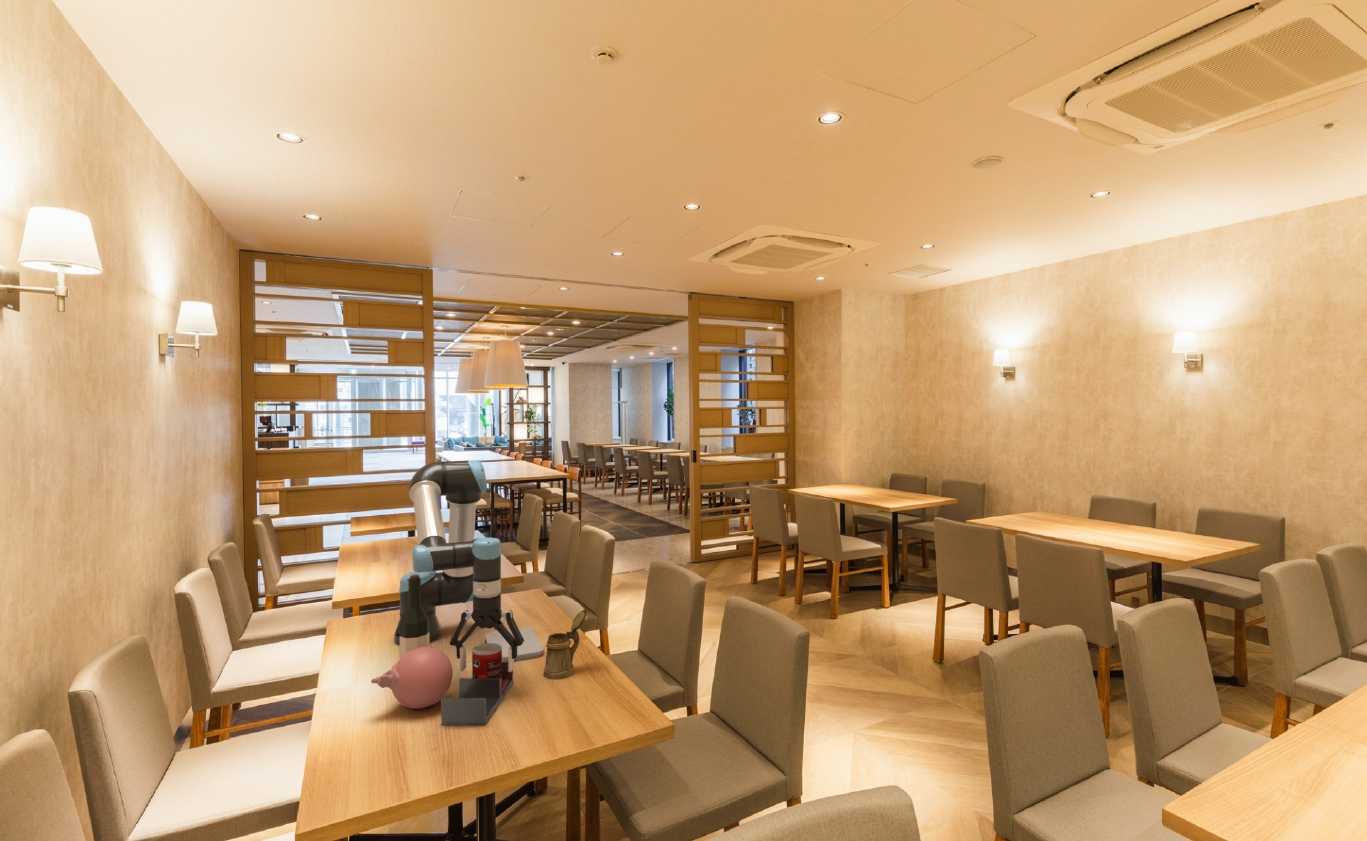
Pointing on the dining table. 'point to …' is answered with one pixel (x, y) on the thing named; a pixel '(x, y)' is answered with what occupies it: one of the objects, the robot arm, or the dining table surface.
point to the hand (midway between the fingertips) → (487, 670)
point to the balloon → (419, 677)
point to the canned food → (487, 661)
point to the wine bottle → (414, 620)
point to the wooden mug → (563, 650)
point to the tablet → (525, 651)
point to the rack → (476, 699)
